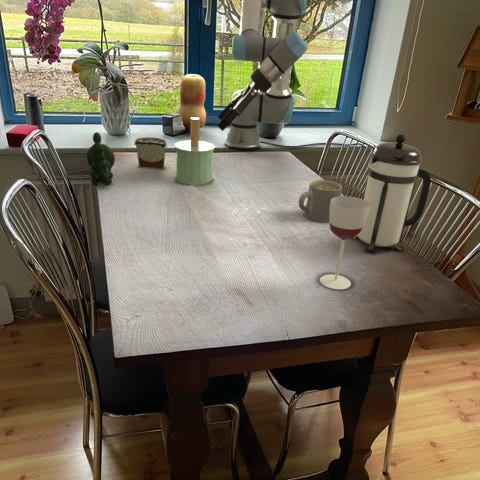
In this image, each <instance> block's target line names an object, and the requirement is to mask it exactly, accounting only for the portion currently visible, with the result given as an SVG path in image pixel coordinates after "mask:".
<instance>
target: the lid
mask: <svg viewBox="0 0 480 480" xmlns="http://www.w3.org/2000/svg"><path fill="white" fill-rule="evenodd" d="M199 122H200V119H199V118H195V117H193V118H191V131H190V140H181V141H178V142H175V143H174V148H175V150H176V149H178V150H181V151H185V152H193V153H203V152H210V151H212V150H213V151H214V150H215V145H214V144H213V143H210V142H207V141H202V140H201V141H200V129H199Z"/></svg>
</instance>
